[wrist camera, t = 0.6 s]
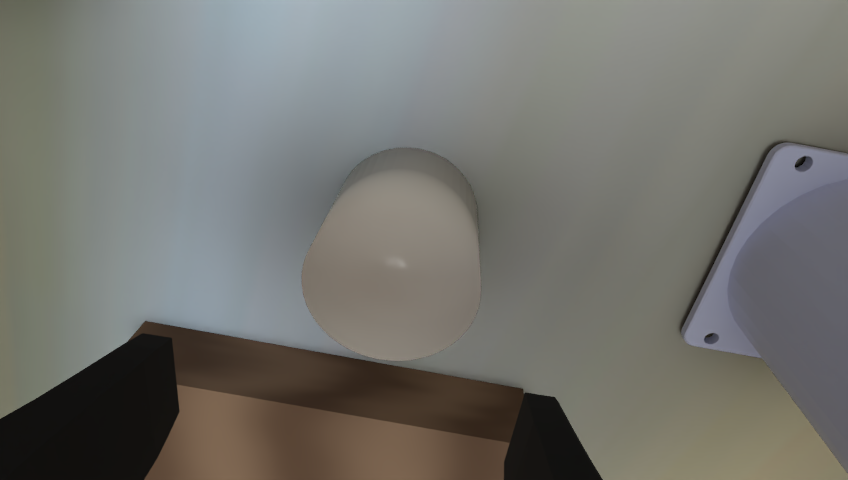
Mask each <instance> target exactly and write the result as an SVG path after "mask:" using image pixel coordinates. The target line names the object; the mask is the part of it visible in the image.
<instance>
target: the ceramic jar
mask: <svg viewBox="0 0 848 480" xmlns="http://www.w3.org/2000/svg"><path fill="white" fill-rule="evenodd" d="M302 289H303V295H304V298H305V301H306V304H307V307H308V309H309V311H310V313H311V315H312V316H313V318H314V319H315V321H316V322H317V323H318V325H319V326H320V327H321V328H322V329H323V330H324V331H325V332H326V333H327V334H328V335H329V336H330V337H331V338H332V339H334V340H335V341H336V342H338V343H339V344H341V345H343V346H344V347H346V348H348V349H350V350H352V351H354V352H356V353H358V354H361V355H364V356H367V357H371V358H375V359H380V360H388V361H407V360H415V359H420V358H424V357H427V356H431V355H433V354H436V353H438V352H440V351H442V350H444V349H446V348H447V347H449V346H451V345H452V344H453V343H455V342H456V341H457V340H458V339H459V338H460V337H461V336H462V335H463V334H464V333H465V332H466V331H467V330H468V328H469V327H470V325H471V324H472V322H473V320H474V318H475V316H476V314H477V311H478V308H479V305H480V299H481V272H480V253H479V233H478V213H477V204H476V199H475V196H474V193H473V190H472V188H471V186H470V184H469V183H468V181H467V179H466V178H465V177H464V175H463V174H462V173H461V172H460V171H459V170H458V169H457V168H456V167H455V166H454V165H453V164H452V163H450V162H449V161H447V160H446V159H444V158H443V157H441V156H439V155H437V154H434V153H432V152H429V151H426V150H422V149H417V148H393V149H388V150H384V151H381V152H378V153H376V154H373V155H371V156H370V157H368V158H366V159H365V160H363V161H362V162H361V163H360V164H358V165H357V166H356V167H355V168H354V169H353V170H352V171H351V173H350V174H349V176H348V177H347V179H346V180H345V182H344V184H343V186H342V188H341V190H340V192H339V194H338V196H337V197H336V199H335V201H334V203H333V205H332V207H331V209H330V211H329V213H328V214H327V216H326V218H325V220H324V222H323V224H322V226H321V228H320V230H319V232H318V233H317V235H316V237H315V239H314V241H313V243H312V245H311V247H310V249H309V251H308V253H307V255H306V257H305V261H304V264H303V269H302Z"/></svg>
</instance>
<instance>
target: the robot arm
mask: <svg viewBox="0 0 848 480" xmlns="http://www.w3.org/2000/svg"><path fill="white" fill-rule="evenodd" d="M803 156H806V160H805V162H804V163H803V164H802V165H801V166H799V167H795V163H796V161H797V160H798V159H799V158H801V157H803ZM710 333H714V334H713V335H712V336H711V337H708V338H704V337H705V336H706V335H708V334H710ZM681 334H682V337H683V339H684V340H685V342H686V343H687V344H689V345H692V346H696V347H702V348H707V349H713V350H718V351H724V352H730V353H735V354H741V355H746V356H752V357H758V358H762V359H763V360H764V361H765V363H766V364H767V365H768V367H769V368H770V369H771V371H772V372H773V373H774V375H775V376H776V378H777V379H778V380H779V382H780V383H781V384H782V386H783V387H784V388H785V390H786V391H787V392H788V394H789V395H790V396H791V398H792V399H793V400H794V402H795V403H796V405H797V406H798V407H799V409H800V410H801V411H802V413H803V414H804V415H805V417H806V418H807V419H808V421H809V422H810V423H811V425H812V426H813V427H814V429H815V430H816V432H817V433H818V434H819V436H820V437H821V438H822V440H823V441H824V442H825V444H826V445H827V446H828V448H829V449H830V450H831V452H832V453H833V454H834V456H835V457H836V459H837V460H838V461H839V463H840V464H841V465H842V467H843V468H844V469H845V471H846V472H847V473H848V153H844V152H838V151H833V150H828V149H822V148H817V147H812V146H806V145H801V144H795V143H781V144H778V145H776V146H775V147H774V148H772V149H771V150H770V152H769V153H768V155H767V157H766V159H765V161H764V163H763V165H762V167H761V169H760V171H759V173H758V175H757V177H756V179H755V181H754V183H753V185H752V187H751V189H750V191H749V193H748V195H747V197H746V199H745V201H744V203H743V205H742V207H741V209H740V212H739V214H738V216H737V218H736V220H735V222H734V224H733V226H732V228H731V230H730V232H729V234H728V236H727V238H726V240H725V242H724V244H723V246H722V248H721V250H720V252H719V254H718V256H717V258H716V260H715V262H714V264H713V267H712V269H711V271H710V273H709V275H708V277H707V279H706V281H705V283H704V285H703V287H702V289H701V291H700V293H699V295H698V297H697V299H696V301H695V303H694V305H693V307H692V309H691V311H690V313H689V315H688V317H687V319H686V322H685V324H684V326H683V328H682V331H681ZM179 412H180V411H179V401H178V391H177V382H176V372H175V362H174V353H173V343H172V338H170V337H164V336H158V335H151V334H145V333H142V334H140V335H138V336H137V337H135V338H133V339H131V340H130V341H128V342H127V343H125V344H123V345H122V346H120V347H119V348H117V349H115V350H114V351H112V352H111V353H109V354H107V355H106V356H104V357H103V358H101V359H99V360H98V361H96V362H95V363H93V364H92V365H90V366H88V367H87V368H85V369H84V370H82V371H80V372H79V373H77V374H76V375H74V376H72V377H71V378H69V379H67V380H66V381H64V382H62V383H61V384H59V385H58V386H56V387H54V388H53V389H51V390H49V391H48V392H46V393H45V394H43V395H41V396H40V397H38V398H36V399H35V400H33V401H31V402H29V403H28V404H26V405H24V406H22V407H21V408H19V409H17V410H15V411H13V412H12V413H10V414H8V415H6V416H5V417H3V418H1V419H0V480H144V479H145V477H146V476H147V474H148V473H149V471H150V470H151V468H152V466H153V465H154V463H155V461H156V460H157V458H158V456H159V454H160V452H161V450H162V448H163V446H164V444H165V442H166V440H167V438H168V436H169V434H170V431H171V429H172V427H173V425H174V423H175V421H176V418H177V416H178V414H179ZM504 480H603V479H602V478H601V476H600V475H599V473H598V471H597V470H596V468H595V466H594V465H593V463H592V461H591V460H590V458H589V456H588V455H587V453H586V451H585V449H584V448H583V446H582V444H581V442H580V441H579V439H578V437H577V435H576V433H575V432H574V430H573V428H572V426H571V424H570V423H569V421H568V419H567V417H566V415H565V413H564V412H563V410H562V408H561V406H560V404H559V402H558V401H557V400H556V398H555V397H550V396H544V395H537V394H531V393H525V394H524V397H523V401H522V404H521V407H520V411H519V414H518V417H517V421H516V424H515V427H514V430H513V434H512V437H511V440H510V444H509V447H508V450H507V454H506V457H505V460H504Z"/></svg>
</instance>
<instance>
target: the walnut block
mask: <svg viewBox="0 0 848 480" xmlns="http://www.w3.org/2000/svg"><path fill="white" fill-rule="evenodd" d="M142 333H145V334H151V335H158V336H164V337H170V338H172V343H173V353H174V362H175V372H176V382H177V391H178V401H179V411H180V412H179V414H178V416H177V418H176V421H175V423H174V425H173V427H172V429H171V431H170V434H169V436H168V438H167V440H166V442H165V444H164V446H163V448H162V450H161V452H160V454H159V456H158V458H157V460H156V461H155V463H154V465H153V466H152V468H151V470H150V471H149V473H148V474H147V476H146V477H145V479H144V480H504V460H505V457H506V454H507V450H508V447H509V444H510V440H511V437H512V434H513V430H514V427H515V424H516V421H517V417H518V414H519V411H520V407H521V404H522V401H523V397H524V393H523V389H521V388H515V387H510V386H504V385H498V384H493V383H487V382H482V381H476V380H471V379H465V378H459V377H454V376H448V375H443V374H437V373H432V372H426V371H420V370H415V369H409V368H404V367H398V366H393V365H387V364H381V363H376V362H370V361H365V360H359V359H354V358H348V357H342V356H337V355H331V354H326V353H320V352H315V351H309V350H303V349H298V348H292V347H287V346H281V345H276V344H270V343H264V342H259V341H253V340H248V339H242V338H237V337H231V336H225V335H220V334H214V333H209V332H203V331H198V330H192V329H186V328H181V327H175V326H170V325H164V324H159V323H153V322H147V321H145V322H144V323H143V324H142V326H141V327H140V328H139V329H138V330H137V331H136V333H135V334H134V335H133V336H132V337H131V338H130V339H129V341H130V340H131V339H133V338H135V337H137V336H138V335H140V334H142Z"/></svg>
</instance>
